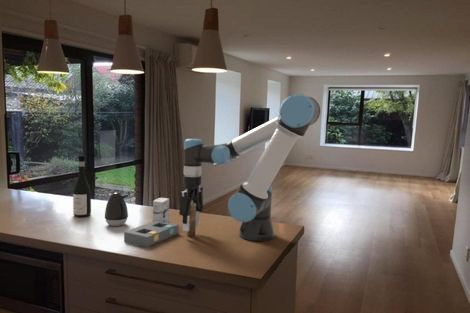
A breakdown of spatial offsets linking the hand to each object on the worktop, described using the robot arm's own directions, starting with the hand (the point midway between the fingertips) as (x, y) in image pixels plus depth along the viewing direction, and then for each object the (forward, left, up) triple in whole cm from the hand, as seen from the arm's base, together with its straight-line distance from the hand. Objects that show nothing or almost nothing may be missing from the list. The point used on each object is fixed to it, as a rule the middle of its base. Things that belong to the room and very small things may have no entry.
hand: (191, 228), depth 159 cm
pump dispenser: (+37, +6, -3) cm, 38 cm away
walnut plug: (0, 0, -3) cm, 3 cm away
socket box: (+12, +11, -3) cm, 17 cm away
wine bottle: (+62, +4, -3) cm, 62 cm away
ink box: (+21, -6, -3) cm, 22 cm away
